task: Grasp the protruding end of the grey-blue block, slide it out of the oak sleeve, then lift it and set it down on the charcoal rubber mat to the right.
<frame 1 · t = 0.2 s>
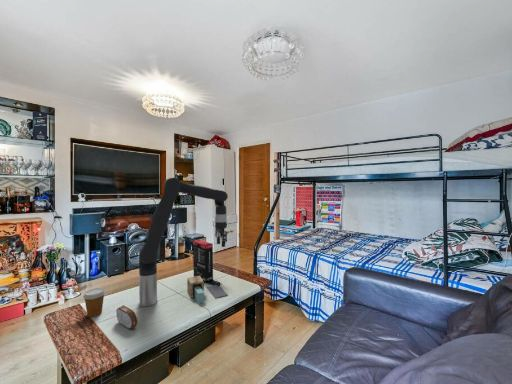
hand: (220, 245, 159), 29 cm above the table, fingers open, 8 cm apart
sleeve: (195, 293, 150), on the table
grey-blue block: (198, 298, 144), on the table
brown grey rounded block: (126, 326, 116), on the table
mat: (216, 291, 154), on the table
disposable coffee cup: (94, 314, 126), on the table
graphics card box: (203, 278, 176), on the table
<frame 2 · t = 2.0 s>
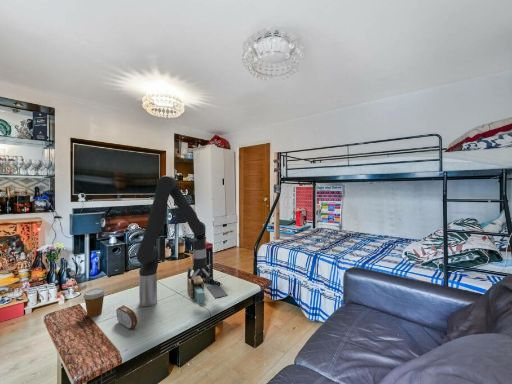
hand: (200, 283, 140), 10 cm above the table, fingers open, 8 cm apart
nothing on the table moved.
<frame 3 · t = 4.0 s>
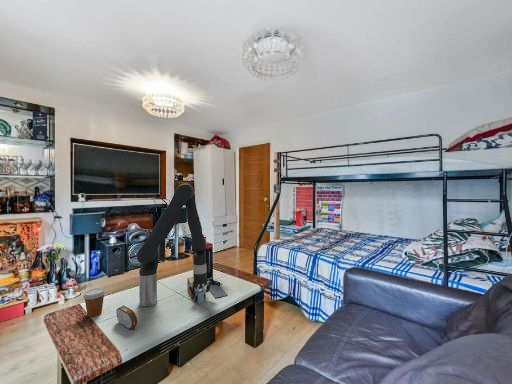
hand: (200, 300, 140), 0 cm above the table, fingers closed on grey-blue block, 3 cm apart
grey-blue block: (198, 298, 144), on the table, touching gripper
everything else where it was.
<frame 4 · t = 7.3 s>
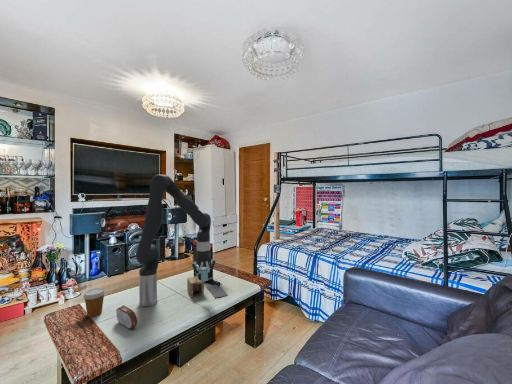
hand: (203, 279, 135), 15 cm above the table, fingers closed on grey-blue block, 3 cm apart
grey-blue block: (201, 277, 138), point 15 cm above the table, touching gripper
everything else where it was.
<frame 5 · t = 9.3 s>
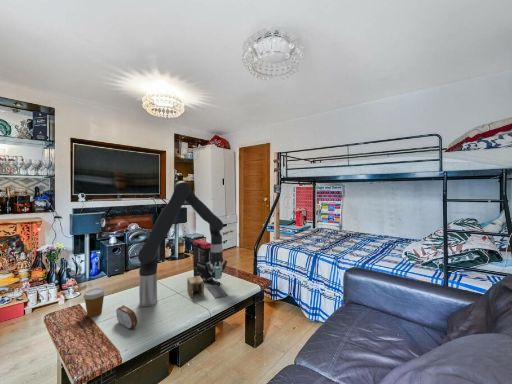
hand: (217, 277, 153), 9 cm above the table, fingers closed on grey-blue block, 3 cm apart
grey-blue block: (215, 275, 157), point 9 cm above the table, touching gripper
everything else where it was.
when the fingers open (2 cm above the table, at t = 11.1 s): grey-blue block stays where it is, resting on mat.
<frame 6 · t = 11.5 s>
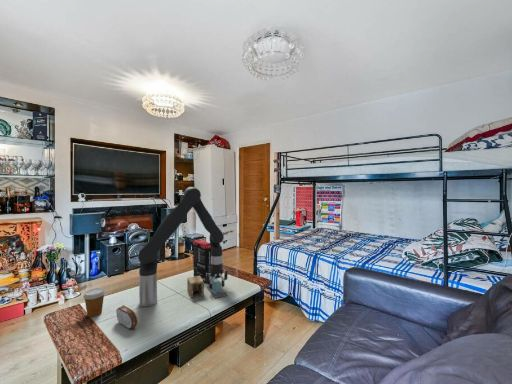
hand: (216, 287, 153), 2 cm above the table, fingers open, 7 cm apart
grey-blue block: (214, 288, 157), point 1 cm above the table, touching mat
everything else where it was.
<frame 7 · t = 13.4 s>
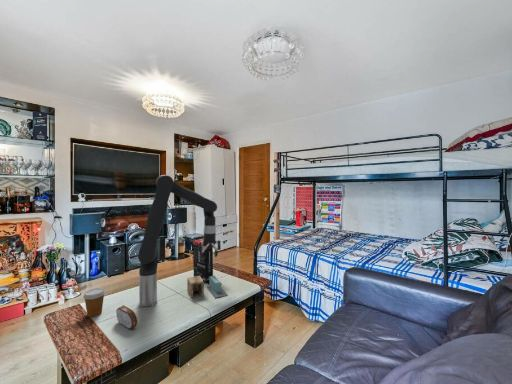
hand: (209, 257, 154), 22 cm above the table, fingers open, 8 cm apart
nothing on the table moved.
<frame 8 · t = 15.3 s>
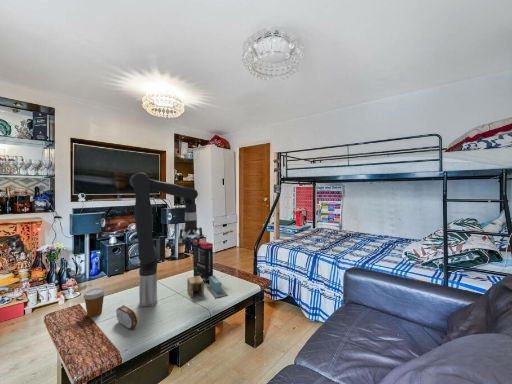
hand: (191, 244, 155), 30 cm above the table, fingers open, 8 cm apart
nothing on the table moved.
at the end: grey-blue block inside the target area on the mat (3.9 cm from its centre), point 0.6 cm above the mat's base; grey-blue block touching mat; the gripper is holding nothing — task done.
